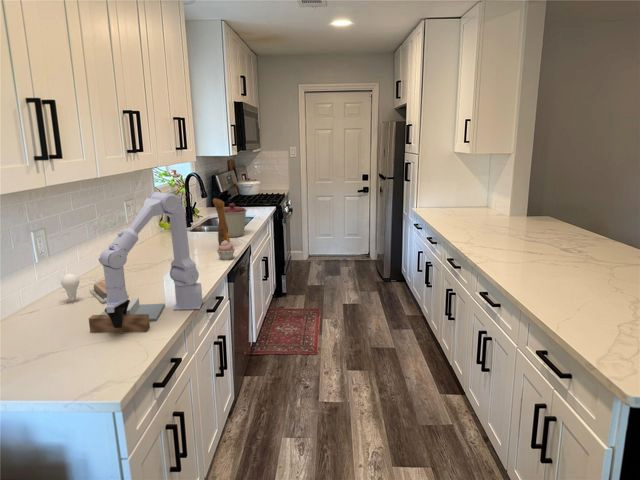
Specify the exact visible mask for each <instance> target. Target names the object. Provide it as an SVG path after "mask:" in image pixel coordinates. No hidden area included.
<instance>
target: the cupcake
mask: <svg viewBox="0 0 640 480" xmlns="http://www.w3.org/2000/svg"><path fill="white" fill-rule="evenodd" d="M216 251H217V254H218V256H219V259H220V261H229V260H233V258H234V254H235V251H236V249H235V248H234V246H233V243H231V242H230V243H228V241H226V240H225V241H223V242H222V243H221V245H220V246H219V245H218V249H217V250H216Z"/></svg>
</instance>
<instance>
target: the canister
mask: <svg viewBox="0 0 640 480" xmlns="http://www.w3.org/2000/svg"><path fill="white" fill-rule="evenodd" d="M224 211H225V218H226V222H227V227H228V233H229V238H239V237H242V236H243V235H244V233H245V227H246V225H245V224H246V217H247V215H246V214H247V211H248V209H246V208H245V207H242V206H241V207H240V206H236V204H235V203H233V202H232V203H229V204H228V206H224Z"/></svg>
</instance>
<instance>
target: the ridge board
mask: <svg viewBox="0 0 640 480" xmlns="http://www.w3.org/2000/svg"><path fill="white" fill-rule="evenodd" d="M139 298H140V297H131V298H130V299H129V300H130V303H129V305H128V308H127V313H126V314H149V323H150V322H157V321H158V319H159V318H160V316H161V314H162V313H163V310H164V308H165V307H166V304H165V303H148V304H147V303H146V304H141V303H140V299H139ZM100 315H108V314H107V313H106V312H105V309H104V310H103V311H102V313H100Z"/></svg>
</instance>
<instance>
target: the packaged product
mask: <svg viewBox="0 0 640 480" xmlns="http://www.w3.org/2000/svg"><path fill="white" fill-rule="evenodd" d="M89 292H90V294H91V295H93V296H94V298H96V300H98V301H99V302H100V303H101V304H102V305H106V304H107V302H103V300H104V299H105V298H107V293H106V285H105V279H103V280H100V281H99V282H96V283H95V284H93V289H89ZM129 296H130V295H129V294H127V300H129ZM105 303H106V304H105Z"/></svg>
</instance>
